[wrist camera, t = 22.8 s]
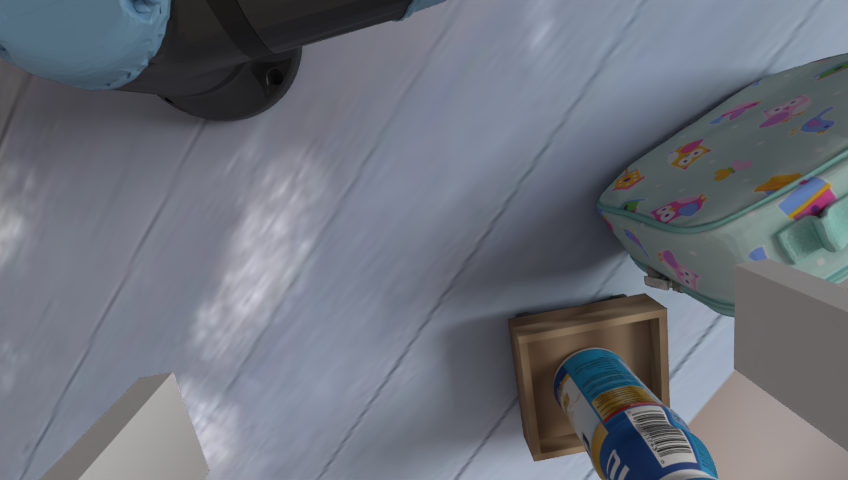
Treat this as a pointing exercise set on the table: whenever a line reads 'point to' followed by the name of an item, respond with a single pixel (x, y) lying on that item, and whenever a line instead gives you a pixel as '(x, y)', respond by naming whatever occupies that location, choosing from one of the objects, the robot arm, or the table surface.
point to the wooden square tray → (570, 332)
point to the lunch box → (743, 188)
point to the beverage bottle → (626, 422)
